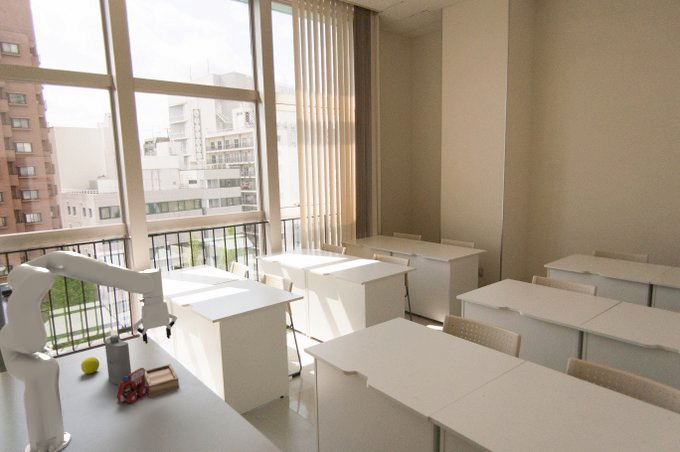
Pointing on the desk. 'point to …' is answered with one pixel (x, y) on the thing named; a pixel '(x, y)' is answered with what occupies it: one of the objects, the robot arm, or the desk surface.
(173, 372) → the wooden tray
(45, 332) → the robot arm
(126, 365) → the flask
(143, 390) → the toy fire truck
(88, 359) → the tennis ball
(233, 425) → the desk surface
